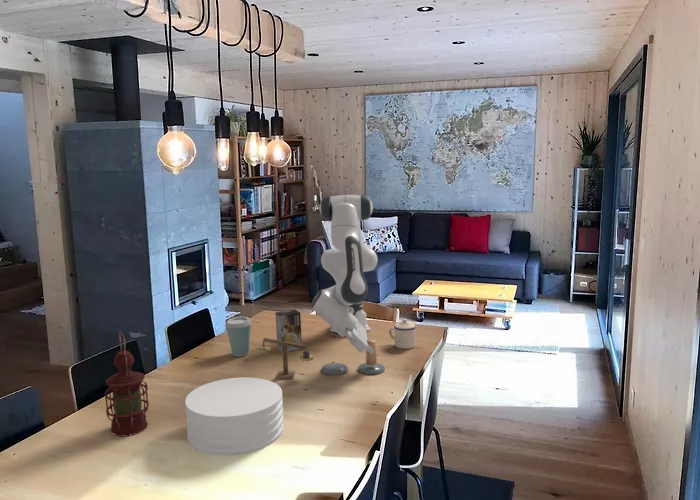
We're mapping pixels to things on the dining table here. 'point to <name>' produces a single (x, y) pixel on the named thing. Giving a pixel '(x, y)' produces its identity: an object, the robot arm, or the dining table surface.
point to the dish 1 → (334, 369)
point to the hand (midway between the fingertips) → (372, 349)
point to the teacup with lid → (404, 334)
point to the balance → (286, 356)
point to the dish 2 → (371, 369)
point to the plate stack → (234, 416)
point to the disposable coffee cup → (239, 335)
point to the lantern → (126, 396)
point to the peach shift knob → (371, 358)
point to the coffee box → (288, 328)
